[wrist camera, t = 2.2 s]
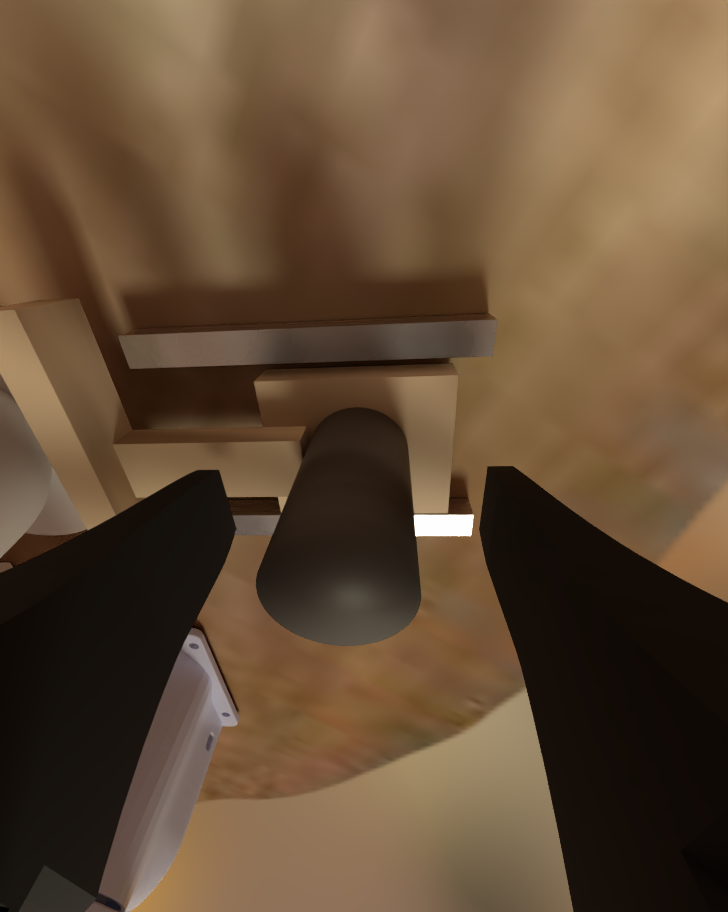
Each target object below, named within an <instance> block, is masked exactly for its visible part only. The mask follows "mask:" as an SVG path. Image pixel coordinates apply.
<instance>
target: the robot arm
mask: <svg viewBox="0 0 728 912" xmlns="http://www.w3.org/2000/svg"><path fill="white" fill-rule="evenodd" d="M479 530H480V536H481V541H482V546H483V551H484V555H485V560H486V564H487V567H488V570H489V573H490V576H491V579H492V582H493V585H494V588H495V591H496V594H497V597H498V600H499V603H500V605H501V608H502V611H503V614H504V617H505V620H506V623H507V626H508V628H509V631H510V634H511V637H512V640H513V643H514V646H515V648H516V652H517V655H518V658H519V662H520V665H521V668H522V672H523V676H524V680H525V684H526V689H527V693H528V696H529V700H530V705H531V709H532V713H533V717H534V722H535V726H536V731H537V735H538V739H539V744H540V748H541V753H542V757H543V761H544V766H545V770H546V775H547V780H548V785H549V789H550V794H551V799H552V804H553V809H554V813H555V818H556V823H557V828H558V833H559V838H560V843H561V848H562V853H563V859H564V864H565V869H566V874H567V880H568V885H569V890H570V895H571V901H572V906H573V911H574V912H728V603H727V602H725V601H723V600H721V599H719V598H717V597H715V596H713V595H711V594H709V593H707V592H705V591H703V590H701V589H699V588H697V587H696V586H694V585H692V584H690V583H688V582H686V581H684V580H682V579H680V578H679V577H677V576H675V575H673V574H671V573H670V572H668V571H666V570H664V569H663V568H661V567H659V566H657V565H656V564H654V563H652V562H651V561H649V560H647V559H645V558H644V557H642V556H640V555H638V554H637V553H635V552H633V551H632V550H630V549H629V548H627V547H625V546H624V545H622V544H620V543H619V542H617V541H616V540H614V539H613V538H611V537H610V536H608V535H607V534H605V533H604V532H602V531H601V530H599V529H598V528H596V527H595V526H593V525H592V524H590V523H589V522H587V521H586V520H585V519H583V518H582V517H580V516H579V515H578V514H576V513H575V512H573V511H572V510H571V509H569V508H568V507H567V506H565V505H564V504H562V503H561V502H560V501H558V500H557V499H556V498H554V497H553V496H552V495H551V494H549V493H548V492H547V491H545V490H544V489H543V488H541V487H540V486H539V485H538V484H536V483H535V482H534V481H532V480H531V479H530V478H528V477H527V476H526V475H524V474H523V473H522V472H520V471H519V470H518V469H516V468H515V467H513V466H489V467H488V468H487V476H486V483H485V490H484V498H483V505H482V513H481V520H480V527H479ZM235 532H236V525H235V522H234V519H233V515H232V512H231V508H230V505H229V502H228V498H227V495H226V491H225V488H224V485H223V481H222V478H221V474H220V471H219V470H196V471H194V472H192V473H189V474H187V475H185V476H184V477H182V478H180V479H178V480H176V481H174V482H173V483H171V484H169V485H167V486H166V487H164V488H162V489H160V490H159V491H157V492H155V493H154V494H152V495H150V496H148V497H147V498H145V499H143V500H142V501H140V502H138V503H136V504H135V505H133V506H131V507H130V508H128V509H126V510H124V511H123V512H121V513H119V514H117V515H115V516H114V517H112V518H110V519H108V520H106V521H104V522H103V523H101V524H99V525H97V526H95V527H93V528H92V529H90V530H88V531H86V532H84V533H82V534H81V535H79V536H77V537H75V538H73V539H71V540H69V541H67V542H65V543H63V544H61V545H59V546H57V547H55V548H53V549H51V550H49V551H47V552H45V553H43V554H41V555H39V556H36V557H34V558H32V559H30V560H28V561H26V562H23V563H21V564H19V565H17V566H15V567H12V568H10V569H8V570H6V571H3V572H1V573H0V912H130V911H131V910H133V909H134V908H135V907H137V906H138V905H139V904H140V903H141V902H142V901H144V900H145V898H146V897H147V896H148V895H149V894H150V893H151V892H152V891H153V890H154V888H155V887H156V886H157V885H158V884H159V882H160V881H161V880H162V878H163V877H164V875H165V874H166V872H167V871H168V869H169V868H170V866H171V865H172V863H173V861H174V859H175V857H176V855H177V853H178V851H179V848H180V846H181V844H182V841H183V838H184V835H185V832H186V829H187V827H188V824H189V821H190V818H191V815H192V812H193V809H194V806H195V804H196V801H197V798H198V795H199V792H200V789H201V786H202V784H203V781H204V778H205V775H206V772H207V769H208V766H209V763H210V760H211V758H212V755H213V752H214V749H215V746H216V743H217V740H218V737H219V734H220V732H221V729H222V726H236V725H237V724H238V721H239V716H238V713H237V711H236V709H235V706H234V704H233V702H232V699H231V697H230V695H229V692H228V690H227V688H226V685H225V683H224V681H223V678H222V676H221V674H220V672H219V669H218V667H217V665H216V662H215V660H214V658H213V655H212V653H211V651H210V648H209V646H208V644H207V641H206V639H205V637H204V634H203V633H202V632H201V631H200V630H198V629H196V628H192V626H193V624H194V622H195V621H196V619H197V617H198V615H199V613H200V611H201V609H202V607H203V605H204V603H205V601H206V599H207V597H208V595H209V593H210V591H211V589H212V587H213V585H214V583H215V581H216V579H217V577H218V575H219V573H220V571H221V569H222V567H223V565H224V563H225V561H226V558H227V555H228V553H229V550H230V547H231V544H232V541H233V538H234V535H235Z"/></svg>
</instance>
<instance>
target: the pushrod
mask: <svg viewBox="0 0 728 912" xmlns="http://www.w3.org/2000/svg"><path fill="white" fill-rule="evenodd" d="M0 374H1V375H2V377H3V379H4V381H5V383H6V384H7V386H8V388H9V390H10V392H11V393H12V395H13V397H14V399H15V401H16V402H17V404H18V406H19V408H20V410H21V411H22V413H23V415H24V417H25V419H26V420H27V422H28V424H29V426H30V428H31V429H32V431H33V433H34V435H35V436H36V438H37V440H38V442H39V444H40V445H41V447H42V449H43V451H44V453H45V454H46V456H47V458H48V460H49V462H50V463H51V465H52V467H53V469H54V471H55V472H56V474H57V476H58V478H59V480H60V481H61V483H62V485H63V487H64V489H65V490H66V492H67V494H68V496H69V498H70V499H71V501H72V503H73V505H74V506H75V508H76V510H77V512H78V514H79V515H80V517H81V519H82V521H83V523H84V524H85V526H86V528H87V530H90V529H92V528H93V527H95V526H97V525H99V524H101V523H103V522H104V521H106V520H108V519H110V518H112V517H114V516H115V515H117V514H119V513H121V512H123V511H124V510H126V509H128V508H130V507H131V506H133V505H135V504H136V503H138V502H140V501H142V500H143V499H145V498H147V497H148V496H150V495H152V494H154V493H155V492H157V491H159V490H160V489H162V488H164V487H166V486H167V485H169V484H171V483H173V482H174V481H176V480H178V479H180V478H182V477H184V476H185V475H187V474H189V473H192V472H194V471H196V470H219V471H220V474H221V478H222V481H223V485H224V488H225V491H226V495H227V497H278V500H279V505H280V510H281V515H280V518H279V520H278V523H277V525H276V528H275V530H274V533H273V535H272V538H271V540H270V543H269V545H268V548H267V550H266V553H265V555H264V558H263V560H262V563H261V565H260V568H259V570H258V573H257V578H256V589H257V594H258V597H259V599H260V602H261V604H262V605H263V607H264V609H265V610H266V611H267V612H268V614H269V615H270V616H271V617H272V618H273V619H274V620H275V621H276V622H278V623H279V624H280V625H281V626H283V627H284V628H286V629H287V630H289V631H291V632H293V633H295V634H297V635H299V636H301V637H304V638H306V639H309V640H312V641H315V642H320V643H324V644H330V645H340V646H356V645H365V644H370V643H375V642H378V641H382V640H384V639H387V638H389V637H391V636H393V635H395V634H397V633H398V632H400V631H401V630H403V629H404V628H405V627H406V626H407V625H408V624H409V623H410V622H411V621H412V620H413V618H414V617H415V615H416V613H417V612H418V609H419V606H420V601H421V588H420V577H419V565H418V554H417V542H416V531H415V520H414V513H448V505H449V493H450V480H451V467H452V454H453V441H454V428H455V415H456V403H457V390H458V377H459V375H458V373H457V371H456V369H455V367H454V365H453V363H445V364H416V365H386V366H357V367H328V368H298V369H269V370H265V371H264V372H263V373H262V374H261V375H260V376H259V377H258V378H257V379H256V380H255V381H254V385H255V390H256V395H257V399H258V404H259V409H260V414H261V419H262V423H263V427H247V428H200V429H153V430H132V428H131V425H130V423H129V420H128V418H127V416H126V413H125V411H124V408H123V406H122V403H121V401H120V398H119V396H118V393H117V391H116V388H115V386H114V384H113V381H112V379H111V376H110V374H109V371H108V369H107V366H106V364H105V361H104V359H103V356H102V354H101V352H100V349H99V347H98V344H97V342H96V339H95V337H94V334H93V332H92V329H91V327H90V324H89V322H88V319H87V317H86V315H85V312H84V310H83V307H82V305H81V302H80V300H79V298H74V299H55V300H37V301H31V302H25V303H19V304H13V305H7V306H1V307H0Z"/></svg>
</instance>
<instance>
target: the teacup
mask: <svg viewBox="0 0 728 912" xmlns="http://www.w3.org/2000/svg"><path fill="white" fill-rule="evenodd" d="M86 529H87V528H86V526H85V524H84V523H83V521H82V519H81V517H80V515H79V514H78V512H77V510H76V508H75V506H74V505H73V503H72V501H71V499H70V498H69V496H68V494H67V492H66V490H65V489H64V487H63V485H62V483H61V481H60V480H59V478H58V476H57V474H56V472H55V471H54V469H53V467H52V465H51V463H50V462H49V460H48V458H47V456H46V454H45V453H44V451H43V449H42V447H41V445H40V444H39V442H38V440H37V438H36V436H35V435H34V433H33V431H32V429H31V428H30V426H29V424H28V422H27V420H26V419H25V417H24V415H23V413H22V411H21V410H20V408H19V406H18V404H17V402H16V401H15V399H14V397H13V395H12V393H11V392H10V390H9V388H8V386H7V384H6V383H5V381H4V379H3V377H2V375H1V374H0V558H1V557H2V556H3V555H4V554H5V553H6V552H7V551H8V550H9V549H10V548H11V547H12V546H13V545H14V544H15V543H16V542H17V541H18V540H19V539H20V538H21V537H22V536H23V535H24V533H27V534H34V535H47V536H57V535H67V534H73V533H78V532H81V531H84V530H86Z"/></svg>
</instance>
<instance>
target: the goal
mask: <svg viewBox="0 0 728 912" xmlns="http://www.w3.org/2000/svg"><path fill="white" fill-rule="evenodd" d="M12 567H13V566H12V565H11V563H7V562H0V573H1V572H3V571H6V570H8V569H10V568H12Z"/></svg>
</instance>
